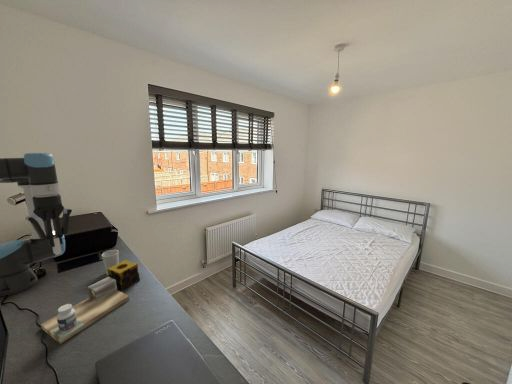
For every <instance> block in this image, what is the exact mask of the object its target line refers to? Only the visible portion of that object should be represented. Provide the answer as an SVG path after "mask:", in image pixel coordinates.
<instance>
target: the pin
mask: <svg viewBox="0 0 512 384" xmlns="http://www.w3.org/2000/svg"><path fill="white" fill-rule="evenodd" d="M87 295H88V298H93V297H95V294H94V292H93V291H91V292H89V291H88V292H87Z"/></svg>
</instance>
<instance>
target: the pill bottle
mask: <svg viewBox="0 0 512 384" xmlns="http://www.w3.org/2000/svg"><path fill="white" fill-rule="evenodd" d="M72 307H73V305H72V304H71V303H66V304H64V305H62V306H59V308H58V309H57V313H58V314H57V315H56V316H57V322H58V327H59V331H60V332H61V333H65V332H68V331H70V330H72V329H74V328H75V327H76V325H77V319H76V313H75V310H74V309H73V308H72Z"/></svg>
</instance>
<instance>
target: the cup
mask: <svg viewBox="0 0 512 384" xmlns="http://www.w3.org/2000/svg"><path fill="white" fill-rule="evenodd" d="M119 253H120V252H119V250H118V249H110V250H106V251H104V252H103V253H102V254H101V258H102V263H103V265H104V266H103V267H104V270H105V274H106V276H109V275H108V268H110V267H112V266H114V265H116V264H118V263H120V257H119V256H120V255H119Z"/></svg>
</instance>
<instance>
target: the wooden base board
mask: <svg viewBox="0 0 512 384" xmlns="http://www.w3.org/2000/svg"><path fill="white" fill-rule="evenodd" d="M87 291H88V293H89V292H91V291H93V292H94V294H95V297H93V298H89V297H88V298H86V299H84V300H82V301H80V302H79V303H77V304H75V305H72V308H73V309H74V310H75V313H76V319H77V325H76V327H75V328H74V329H72V330H70V331H68V332H65V333H61V332H60V331H59V327H58V322H57V315H55V316H53V317H51V318H49V319H47V320H45V321H44V322H42V323H40V327H41V328H40V329H41V330H43V331H44V332H45V333H46V334H48V335H49V337H50V336H51V338H52V339H54V340H55V341H56V342H58V343H59V344H60V345H61V344H63V343H64V342H66V341H67V340H69V339H70V338H72V337H73V336H75V335H76V334H78V333H80V332H82V331H83V330H84V329H86V328H88V327H90V325H92V324H94V323H95V322H97V321H99V320H100V319H102V318H103V317H105V316H106V315H108V314H109V313H111V312H112V311H114V310H116V309H117V308H119V307H120V306H121V305H123V304H124V303H126V302H128V301H129V300H130V295H129V294H126V293H124V292H123V291H121V290H119V289H117V285H116V280H115V279H113V278H111V277H109V276H107V277H105V278H104V277H103V279H101V280H98V281H97V282H95V283H93V284H91V285H88V286H87Z"/></svg>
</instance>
